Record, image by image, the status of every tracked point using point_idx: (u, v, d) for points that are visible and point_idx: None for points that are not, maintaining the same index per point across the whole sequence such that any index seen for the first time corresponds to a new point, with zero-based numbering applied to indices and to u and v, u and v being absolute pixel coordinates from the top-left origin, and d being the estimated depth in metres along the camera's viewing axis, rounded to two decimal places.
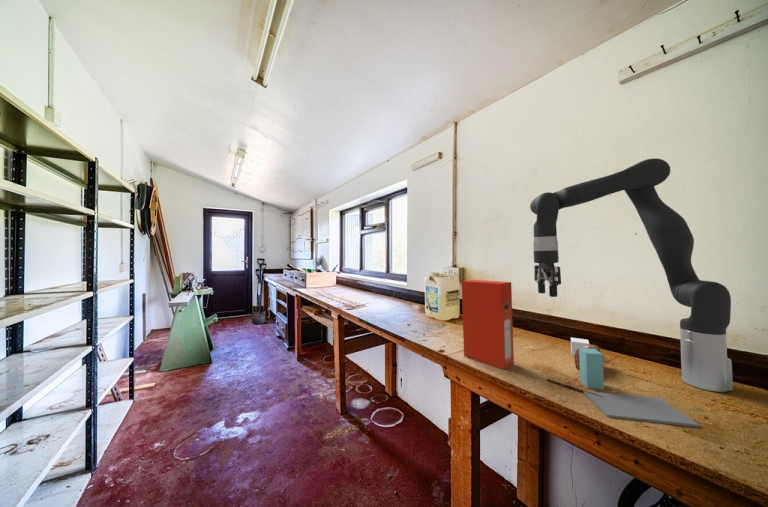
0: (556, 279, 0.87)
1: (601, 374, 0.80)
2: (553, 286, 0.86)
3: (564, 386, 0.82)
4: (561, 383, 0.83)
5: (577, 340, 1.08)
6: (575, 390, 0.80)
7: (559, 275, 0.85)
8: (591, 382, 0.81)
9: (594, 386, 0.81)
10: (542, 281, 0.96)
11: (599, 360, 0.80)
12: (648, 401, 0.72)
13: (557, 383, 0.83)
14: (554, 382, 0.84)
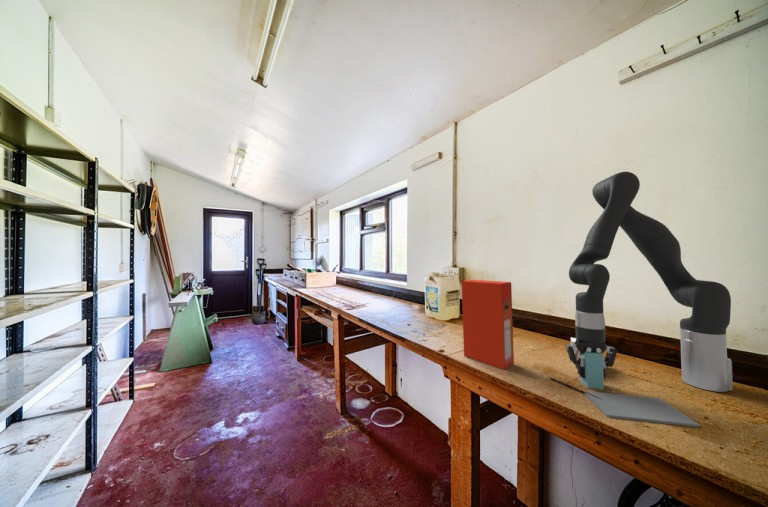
0: None
1: (601, 374, 0.80)
2: None
3: (565, 385, 0.83)
4: None
5: None
6: (575, 390, 0.80)
7: None
8: (591, 382, 0.81)
9: (594, 386, 0.81)
10: None
11: (599, 360, 0.80)
12: (648, 401, 0.72)
13: (559, 382, 0.84)
14: (556, 381, 0.85)
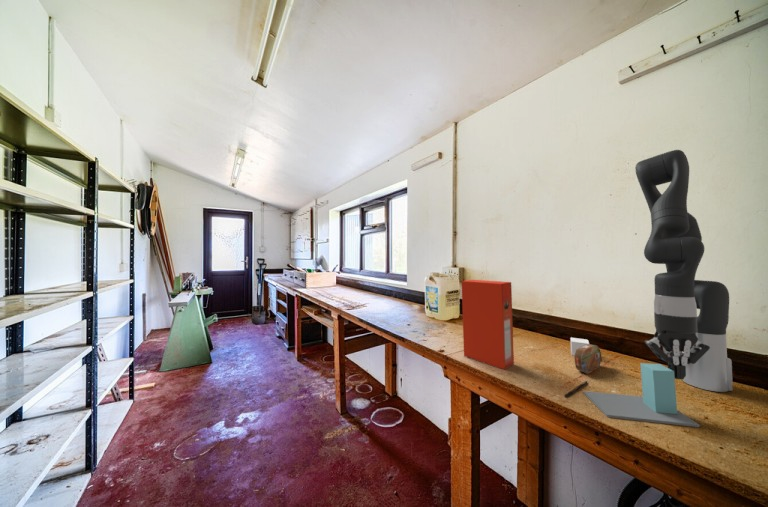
0: None
1: (672, 395, 0.66)
2: None
3: None
4: (581, 384, 0.82)
5: (577, 340, 1.08)
6: None
7: None
8: (661, 405, 0.67)
9: (665, 410, 0.67)
10: None
11: (670, 379, 0.66)
12: None
13: (581, 384, 0.83)
14: None
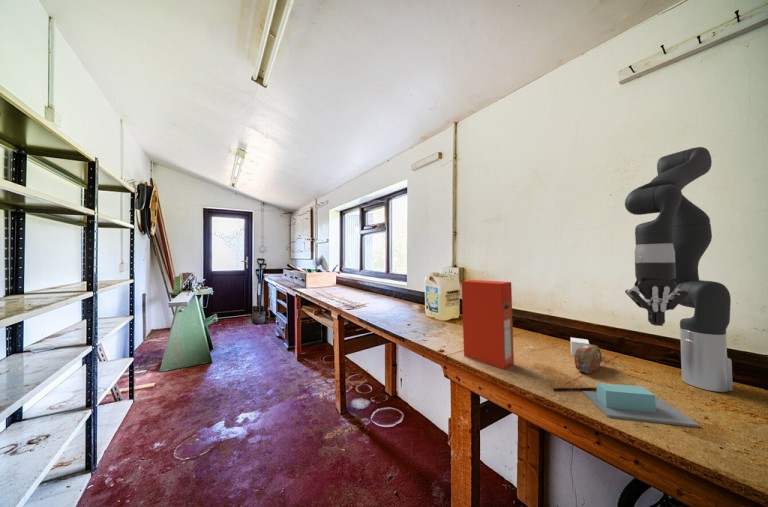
0: (659, 303, 0.70)
1: (633, 395, 0.68)
2: None
3: None
4: (588, 388, 0.80)
5: (577, 340, 1.08)
6: None
7: None
8: (647, 407, 0.68)
9: (652, 404, 0.67)
10: None
11: (614, 395, 0.69)
12: None
13: (590, 388, 0.80)
14: (593, 388, 0.80)
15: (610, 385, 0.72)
